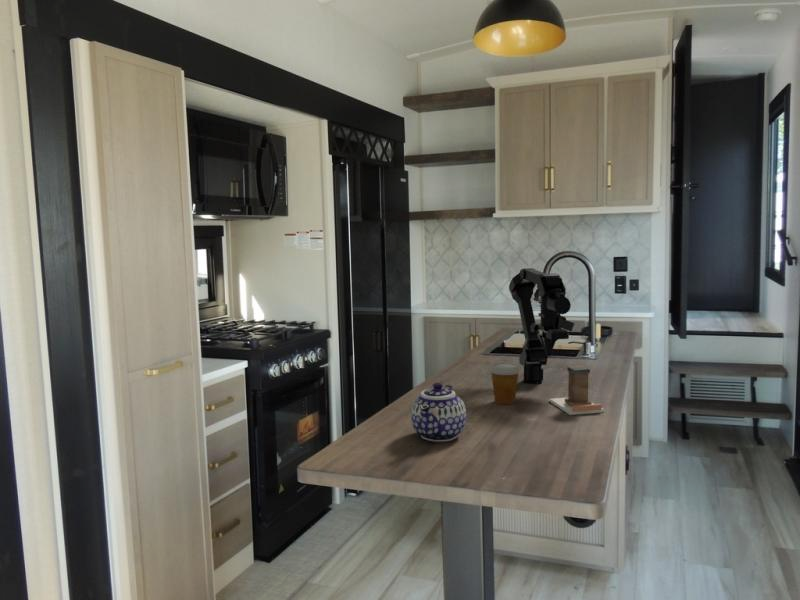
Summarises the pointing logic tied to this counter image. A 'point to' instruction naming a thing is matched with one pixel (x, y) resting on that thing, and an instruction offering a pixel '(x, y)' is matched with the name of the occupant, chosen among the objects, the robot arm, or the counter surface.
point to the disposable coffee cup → (504, 382)
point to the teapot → (438, 414)
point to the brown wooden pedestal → (578, 386)
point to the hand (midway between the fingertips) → (548, 355)
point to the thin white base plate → (576, 407)
